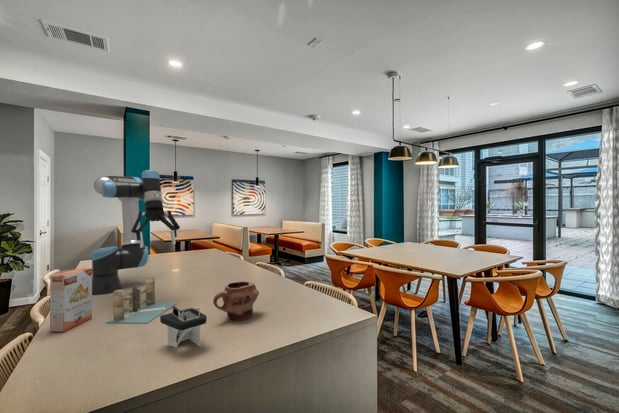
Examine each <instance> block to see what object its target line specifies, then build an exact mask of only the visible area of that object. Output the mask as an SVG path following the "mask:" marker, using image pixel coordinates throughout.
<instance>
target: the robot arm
mask: <svg viewBox="0 0 619 413" xmlns="http://www.w3.org/2000/svg"><path fill="white" fill-rule="evenodd" d="M161 186H162V185H161V178H160V174H159V171H157V170H154V169H146V170H143V171H142V173H141V178H140V177H137V176H125V175H123V176H122V175H121V176H119V175H106V176H101V177H99V178H97V179H96V180H95V181H94V183H93V187H94V190H95V192H96V193H98V194H100V195H101V196H102V198H109V199H110V198H112V199H113V198H117V200H118V201H120V202H121V211H122V212H121V214H122V230H123V243H122V244H121V245H120V246H121V248H119V247H118V246H107V247H103V248H97V249H95V250H94V251H93V252H91V254H92V255H91V269H92V295H105V294H110V293H113V291H116V290H123V288H122V287H123V286H122V282H121V279H120V276H119V270H126V269H137V268H141V267H144V266H146V264H147V263H148V259H149V247H148V246H147V245H145V242H144V236H143V232H142V231H143V229H144V227H145V226H146V225H147V224H148V223H149V221H150V222H159V221H160V222H161V223H163V224H164V225H166V227H167V228H169V230H170V237H171V245H172V246H175V245H176V243H177V242H176V238H177V236H178V235H177V231H178V230H179V229H181V226H180V225H179V223H178V222H177V221H176V219H175V218H174V216H173V215H172V211H171V210H168V211H164V204H163V198H162V197H163V196H162V188H161ZM139 201H143V202H144V210H145V211H141V210H140V209H139V208H140V206H139ZM143 216H145V217H146V219H145V220H144V222H143V223H142V224H141V219H142V217H143ZM165 216H166V217H167V218H168V219H167V218H166V217H165Z"/></svg>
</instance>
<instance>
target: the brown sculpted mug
mask: <svg viewBox="0 0 619 413" xmlns="http://www.w3.org/2000/svg"><path fill="white" fill-rule="evenodd" d="M259 294H260V292H259V290H258V289H257V287H256V285H255V283H254V282H252V281H238V282H230V283H227V284H226V285H225V287H224V291H221V292H218V293H217V294H216V295H214V297H213V300H212V301H213V302H212V303H213V305H214V307H215V308H216V309H218V310H220V311H223V312H224V313H227V314H226V315H227V317H228V319H229V320H231V321H243V320H246V319H249V318H251V317H252V316H253V314H254V309H253V306H254V304H255V302H256V300H257V298H258V296H259ZM219 299H222V303H223V305H222V306H219V305H218V300H219Z"/></svg>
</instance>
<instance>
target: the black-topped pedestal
mask: <svg viewBox="0 0 619 413" xmlns="http://www.w3.org/2000/svg"><path fill="white" fill-rule="evenodd" d="M171 309H172V312H170V313H166V314H161V315H160V317H159V318H160V319H159V320H160V321H159V322H160V323H161V324H163V325H165V326H167V346H170V347H174V348H178V346H179V344H180V342H183V341H186V340H190V341H191V342H193V343H194V344H195V343H196V345H197V346H198V347H199V346H200V347H201V326H203V325H205V324H207V315H206V314H204V313H202V312H201V307H198V308H194V307H191V308H185V309H180V308H178V307H176V306H173V305H172V308H171Z"/></svg>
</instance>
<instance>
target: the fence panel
mask: <svg viewBox="0 0 619 413" xmlns="http://www.w3.org/2000/svg"><path fill="white" fill-rule="evenodd" d="M155 285H156V278H155V277H148V278H146V279H145V289H142V290H141V289H140V288H139V289H138V309H140V308H141V305H143V304H145V303H146V304H147V305H150V304H154V303H155V302H156V293H155V292H156V291H155V289H156V286H155ZM143 294H145V299H143V300H142V299H141V298H142V297H141V295H143ZM141 300H142V301H141Z"/></svg>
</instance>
